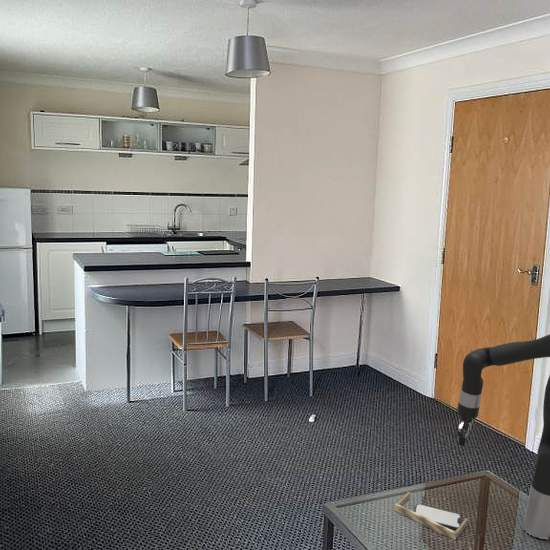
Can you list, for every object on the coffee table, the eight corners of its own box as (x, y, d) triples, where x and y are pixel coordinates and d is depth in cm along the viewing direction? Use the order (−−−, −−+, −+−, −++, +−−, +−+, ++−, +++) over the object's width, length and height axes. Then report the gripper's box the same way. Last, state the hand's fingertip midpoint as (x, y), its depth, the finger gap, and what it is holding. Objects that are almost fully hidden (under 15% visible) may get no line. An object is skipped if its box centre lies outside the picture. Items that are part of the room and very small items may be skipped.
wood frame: (466, 525, 212) (468, 518, 211) (455, 540, 203) (456, 534, 203) (407, 497, 225) (408, 491, 224) (394, 510, 217) (395, 504, 216)
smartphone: (412, 520, 213) (459, 532, 208) (413, 516, 212) (460, 528, 208) (415, 506, 221) (460, 518, 216) (416, 502, 221) (461, 514, 216)
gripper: (472, 411, 213) (465, 455, 217) (485, 400, 223) (477, 442, 227) (452, 404, 217) (445, 447, 221) (466, 393, 227) (458, 434, 232)
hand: (461, 444), depth 224 cm, fingers closed
